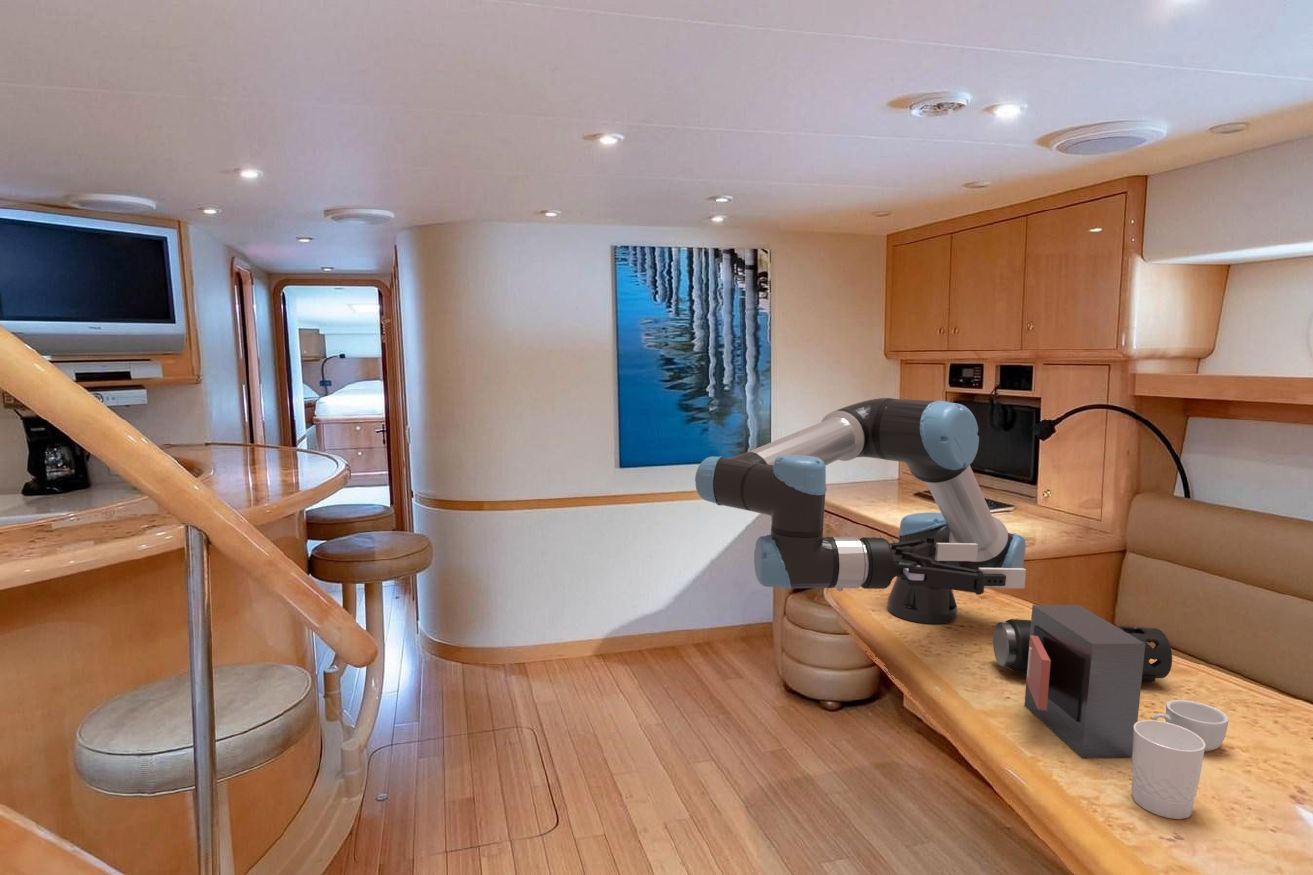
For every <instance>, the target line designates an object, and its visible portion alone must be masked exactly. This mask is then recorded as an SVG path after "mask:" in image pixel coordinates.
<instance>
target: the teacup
mask: <svg viewBox="0 0 1313 875" xmlns="http://www.w3.org/2000/svg"><path fill="white" fill-rule="evenodd" d="M1159 718H1163V719H1164V720H1165V722H1168V723H1171V724H1175V725H1178V726H1181V727H1183V728H1186V729H1188V730H1190V731H1192V732H1193V733H1195V734H1197V735H1198V736H1199V737H1201V738H1202V739H1203V741H1204V742H1205V751H1204V752H1211V751H1214V750H1216V749H1218V748H1219V747H1221V745H1222V744H1223V743H1224V740H1225V737H1226V735H1227V730H1228V725H1229V717H1228V715H1227V714H1226V712H1225V713H1224V712H1223V711H1221V710H1220V709H1218V708H1216V707H1214V706H1211V705H1210V704H1209V705H1208V704H1205V703H1202V702H1198V701H1195V700H1194V701H1193V700H1189V699H1171V700H1168V701H1167V702H1166V704H1165V713H1156V714H1155V715H1154V716H1153V718H1152V720H1156V721H1158V719H1159Z"/></svg>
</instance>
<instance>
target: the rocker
mask: <svg viewBox="0 0 1313 875" xmlns="http://www.w3.org/2000/svg"><path fill="white" fill-rule="evenodd" d="M1050 664H1051V660H1050V658H1049V656H1048V655H1047V653H1046V651H1045V649H1044V647H1043V645H1042V643H1041V641H1040V639H1039V637H1038V636H1033V635H1030V641H1029V653H1028V666H1027V672H1026V677H1025V678H1026V679H1025V683H1026V682H1027V684H1028V686H1029V689H1030V691H1031V694H1032V696H1033V699H1034V701H1035V704H1036V706H1037V709H1039V710H1046V711H1047V699H1048V687H1049V675H1050Z"/></svg>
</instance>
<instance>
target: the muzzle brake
mask: <svg viewBox="0 0 1313 875" xmlns="http://www.w3.org/2000/svg"><path fill="white" fill-rule="evenodd" d="M1115 626H1116V627H1118V628H1119V629H1121V630H1123V631H1125V632H1126V633H1128V634H1130V635H1132V636H1133V637H1135V638H1137V639H1138V640H1140V641H1142V642H1144V643H1145V652H1144V662H1143V672H1142V681H1144V682H1155V681H1156V679H1165V678H1166V677H1167V676H1169V674H1170V672H1171V669H1172V665H1173V651H1172V647H1171V644H1170V641H1169V639H1168V637H1167V636H1166V634H1165V633H1164V632H1163V631H1162V630H1161V629H1160V628H1157V627H1143V626H1125V625H1124V626H1121V625H1115ZM1030 629H1031V619H1020V618H1019V619H1014V618H1010V619H1007V620H1006V621H1004V622H1003V621H998V622H997V623H996V624H995V626H994V628H993V632H992V633H993V635H992V647H993V648H992V650H993V653H994V657H995V660H996V662H997V664H998V666H1000V667H1002V668H1008V670H1011V671H1012V672H1020V673H1021V672H1023V673H1027V666H1028V653H1029V641H1030ZM1149 643H1153V644H1154V647H1153V646H1151V645H1150V644H1149ZM1150 660H1154V661H1153V662H1152V663H1151V662H1150Z"/></svg>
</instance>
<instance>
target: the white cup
mask: <svg viewBox="0 0 1313 875" xmlns="http://www.w3.org/2000/svg"><path fill="white" fill-rule="evenodd" d="M1205 752H1206V751H1205V742H1204V741H1203V739H1202V738H1201V737H1199V736H1198V735H1197V734H1195V733H1193V732H1192V731H1190V730H1188V729H1186V728H1183V727H1181V726H1178V725H1175V724H1171V723H1168V722H1166V721H1162V720H1153V719H1143V720H1138V721H1137V722H1136V723H1135V724H1134V727H1133V749H1132V758H1131V766H1132V767H1131V779H1132V780H1131V796H1132V799H1133V801H1134V802H1135V803H1136V804H1137V805H1138V806H1140V807H1141V808H1142V809H1143V810H1146V811H1148V812H1149V813H1152V814H1154V815H1156V816H1159V817H1163V818H1167V819H1172V820H1173V819H1174V820H1183V819H1188V818H1190V817H1191V815H1192V813H1193V809H1194V804H1195V803H1194V802H1195V798H1196V797H1197V792H1198V789H1199V788H1198V787H1199V783H1200V779H1201V773H1202V767H1203V759H1204V756H1205Z"/></svg>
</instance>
